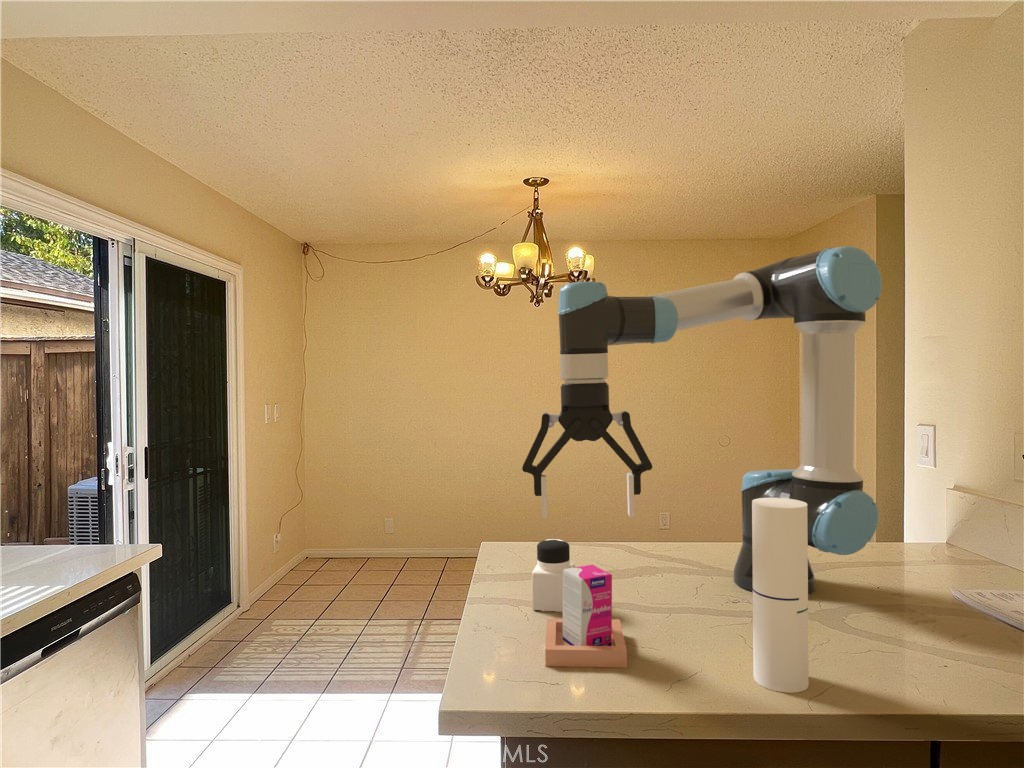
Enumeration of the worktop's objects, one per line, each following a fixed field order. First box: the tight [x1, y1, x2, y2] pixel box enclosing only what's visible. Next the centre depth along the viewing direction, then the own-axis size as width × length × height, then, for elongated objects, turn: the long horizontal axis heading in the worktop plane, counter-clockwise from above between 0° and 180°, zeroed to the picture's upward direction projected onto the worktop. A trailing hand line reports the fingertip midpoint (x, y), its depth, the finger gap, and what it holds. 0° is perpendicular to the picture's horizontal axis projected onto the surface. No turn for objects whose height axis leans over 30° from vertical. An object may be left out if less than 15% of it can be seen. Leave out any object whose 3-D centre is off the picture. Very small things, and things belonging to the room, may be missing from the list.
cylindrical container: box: [752, 498, 810, 694], centre depth 91 cm, size 7×7×25 cm
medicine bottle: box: [531, 538, 575, 613], centre depth 121 cm, size 7×7×12 cm
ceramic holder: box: [544, 618, 628, 669], centre depth 102 cm, size 12×12×2 cm
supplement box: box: [562, 564, 613, 646], centre depth 102 cm, size 6×6×12 cm
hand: (587, 515), depth 103 cm, fingers open, 13 cm apart
